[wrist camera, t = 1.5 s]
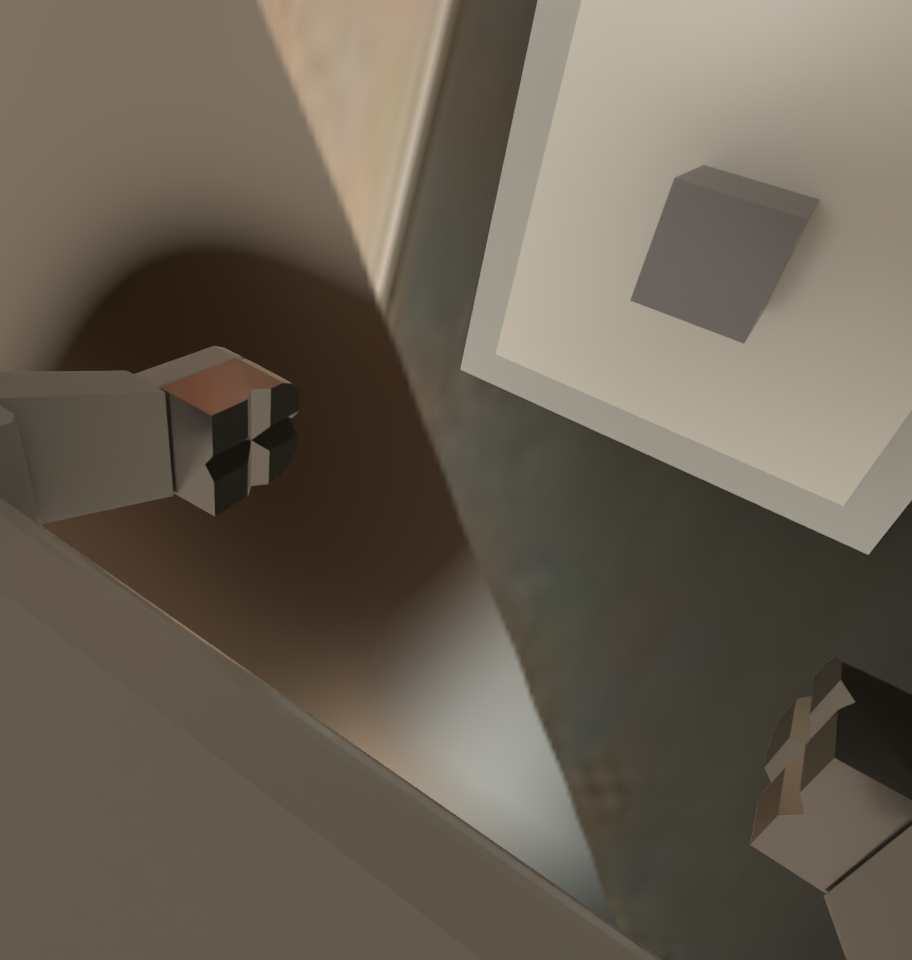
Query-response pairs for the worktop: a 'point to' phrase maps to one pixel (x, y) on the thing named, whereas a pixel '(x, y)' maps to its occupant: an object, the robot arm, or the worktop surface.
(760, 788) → the worktop surface
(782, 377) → the cover sheet
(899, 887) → the robot arm
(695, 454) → the mat
